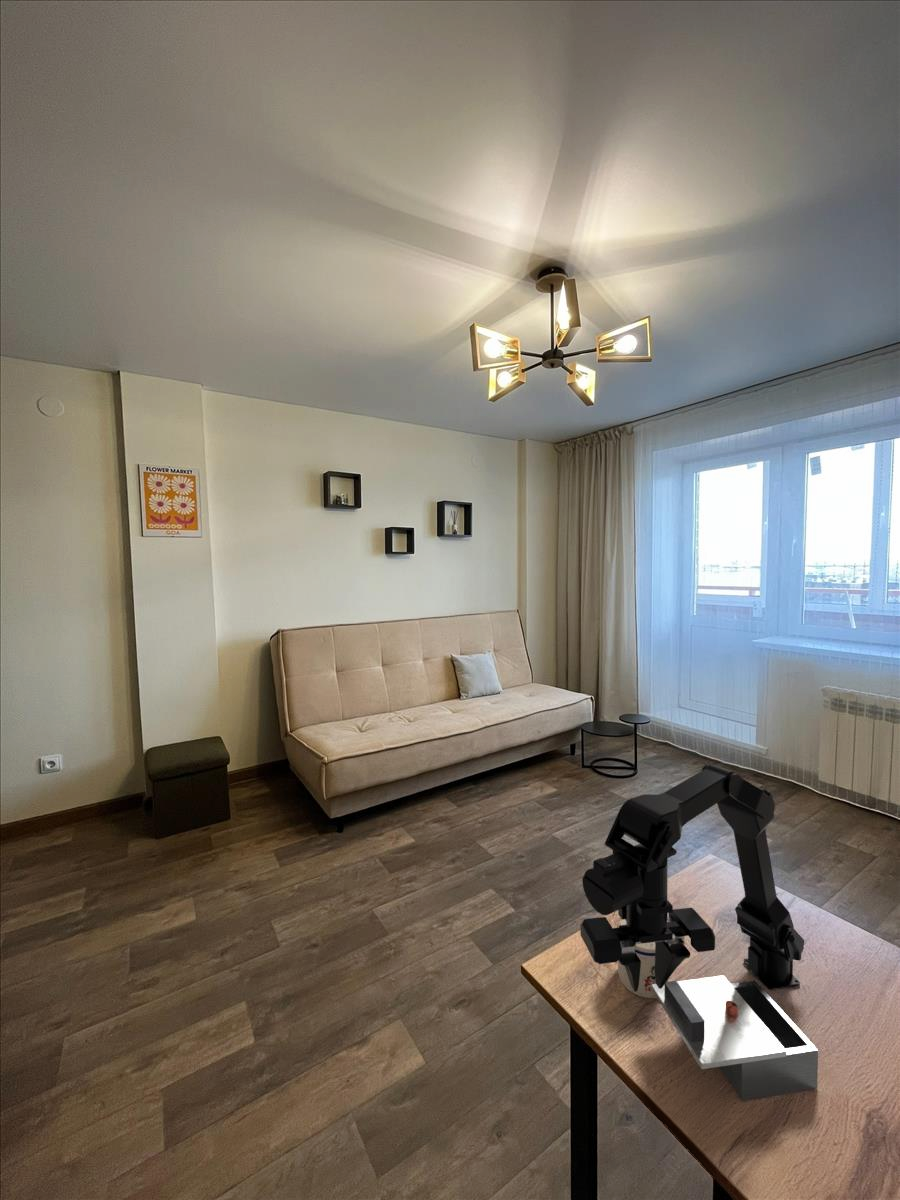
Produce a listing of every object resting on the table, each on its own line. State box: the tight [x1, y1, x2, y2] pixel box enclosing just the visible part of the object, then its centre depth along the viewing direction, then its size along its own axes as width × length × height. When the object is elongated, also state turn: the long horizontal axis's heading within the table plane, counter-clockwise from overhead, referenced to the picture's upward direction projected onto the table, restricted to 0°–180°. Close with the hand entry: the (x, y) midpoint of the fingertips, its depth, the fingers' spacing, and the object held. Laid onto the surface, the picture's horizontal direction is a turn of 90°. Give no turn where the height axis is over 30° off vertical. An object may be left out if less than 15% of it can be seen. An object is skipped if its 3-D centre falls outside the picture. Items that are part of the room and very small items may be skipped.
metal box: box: [718, 980, 819, 1102], centre depth 74 cm, size 12×12×6 cm
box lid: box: [651, 974, 787, 1070], centre depth 73 cm, size 13×13×4 cm
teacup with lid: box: [616, 919, 669, 999], centre depth 89 cm, size 12×9×12 cm
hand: (646, 987), depth 72 cm, fingers open, 4 cm apart
